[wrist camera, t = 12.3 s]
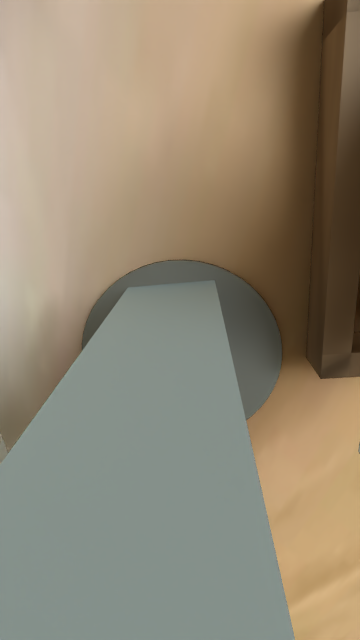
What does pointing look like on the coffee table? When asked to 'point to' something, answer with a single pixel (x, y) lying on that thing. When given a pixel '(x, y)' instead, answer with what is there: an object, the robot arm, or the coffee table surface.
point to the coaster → (238, 314)
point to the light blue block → (141, 490)
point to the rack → (337, 199)
